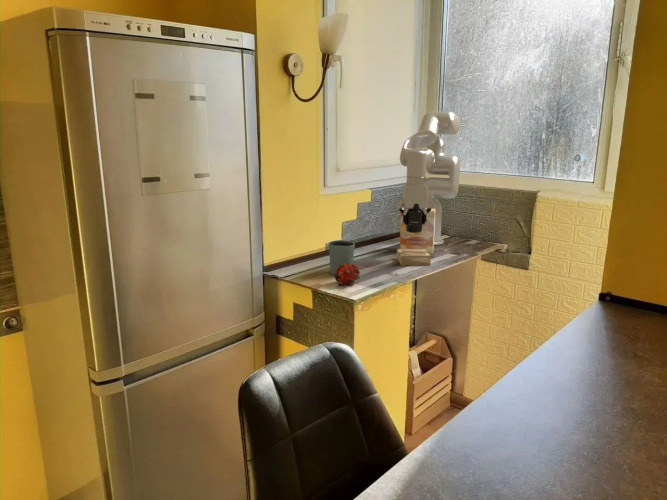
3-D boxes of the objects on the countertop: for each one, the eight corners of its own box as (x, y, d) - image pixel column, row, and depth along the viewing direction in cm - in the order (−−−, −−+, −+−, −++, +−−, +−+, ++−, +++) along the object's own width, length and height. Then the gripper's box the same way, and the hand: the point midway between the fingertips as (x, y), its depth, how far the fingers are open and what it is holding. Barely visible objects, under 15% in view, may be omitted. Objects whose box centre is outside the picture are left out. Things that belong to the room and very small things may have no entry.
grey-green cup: (325, 270, 208) (325, 241, 205) (348, 268, 211) (348, 239, 208) (334, 277, 198) (334, 246, 195) (358, 274, 202) (358, 244, 199)
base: (396, 258, 226) (397, 248, 225) (424, 257, 226) (424, 248, 225) (401, 265, 214) (401, 255, 213) (430, 265, 215) (430, 255, 214)
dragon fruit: (359, 284, 195) (339, 296, 187) (343, 268, 198) (323, 280, 189) (368, 269, 190) (348, 281, 181) (352, 253, 192) (332, 265, 184)
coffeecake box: (399, 252, 236) (400, 209, 232) (401, 248, 243) (402, 207, 238) (433, 254, 233) (434, 210, 228) (433, 250, 240) (435, 208, 235)
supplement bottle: (411, 233, 213) (412, 204, 210) (402, 230, 219) (403, 202, 216) (425, 232, 215) (426, 203, 212) (416, 229, 221) (417, 201, 219)
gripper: (434, 179, 216) (433, 222, 220) (393, 180, 215) (392, 222, 220) (439, 181, 209) (437, 225, 213) (396, 182, 208) (394, 226, 212)
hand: (414, 223), depth 216 cm, fingers closed on supplement bottle, 6 cm apart
